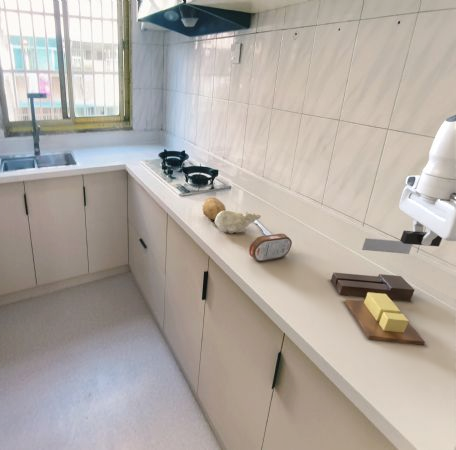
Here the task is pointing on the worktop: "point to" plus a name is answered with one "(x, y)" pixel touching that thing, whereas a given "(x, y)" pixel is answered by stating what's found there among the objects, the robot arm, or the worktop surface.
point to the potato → (212, 207)
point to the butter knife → (262, 227)
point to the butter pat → (393, 322)
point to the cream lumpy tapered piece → (234, 221)
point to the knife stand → (372, 285)
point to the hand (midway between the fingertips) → (420, 241)
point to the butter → (380, 305)
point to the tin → (270, 247)
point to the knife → (398, 243)
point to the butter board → (375, 330)
